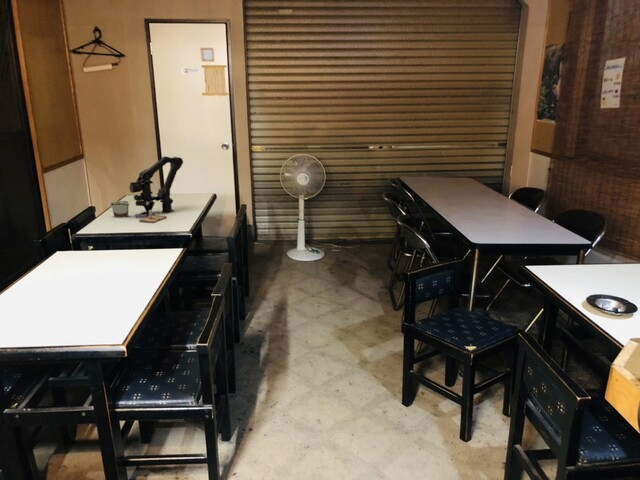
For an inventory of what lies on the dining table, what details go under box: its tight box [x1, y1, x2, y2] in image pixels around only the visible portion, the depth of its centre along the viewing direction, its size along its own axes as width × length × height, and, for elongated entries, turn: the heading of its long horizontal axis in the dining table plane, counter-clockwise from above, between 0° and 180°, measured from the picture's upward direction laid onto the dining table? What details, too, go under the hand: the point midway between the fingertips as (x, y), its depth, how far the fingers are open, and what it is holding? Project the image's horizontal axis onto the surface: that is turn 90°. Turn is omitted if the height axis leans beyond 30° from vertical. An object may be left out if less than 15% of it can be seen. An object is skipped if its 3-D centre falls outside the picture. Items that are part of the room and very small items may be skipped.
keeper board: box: [138, 210, 167, 224], centre depth 322 cm, size 14×11×7 cm
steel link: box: [134, 210, 156, 219], centre depth 332 cm, size 10×8×2 cm
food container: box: [110, 200, 130, 218], centre depth 332 cm, size 12×6×10 cm, turn 84°
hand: (149, 213), depth 336 cm, fingers closed on steel link, 1 cm apart
